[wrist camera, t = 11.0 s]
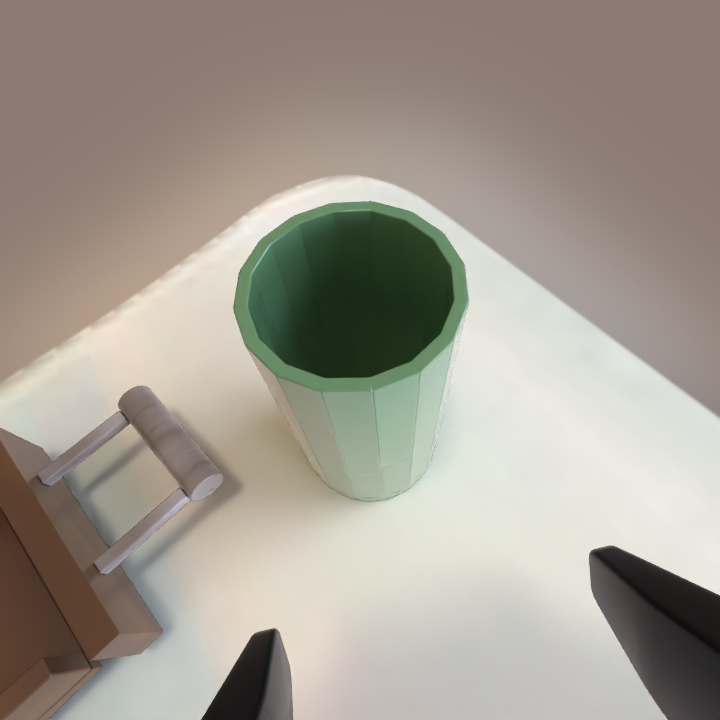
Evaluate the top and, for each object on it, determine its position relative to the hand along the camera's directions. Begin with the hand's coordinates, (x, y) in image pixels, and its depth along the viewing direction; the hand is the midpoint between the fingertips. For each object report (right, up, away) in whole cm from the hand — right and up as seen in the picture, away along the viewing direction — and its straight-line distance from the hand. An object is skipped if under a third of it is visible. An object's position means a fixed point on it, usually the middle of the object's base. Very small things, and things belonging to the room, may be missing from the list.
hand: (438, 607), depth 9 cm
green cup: (-1, +1, +16) cm, 16 cm away
